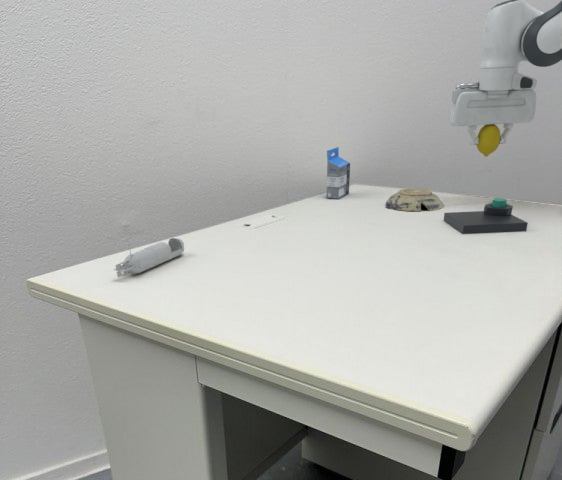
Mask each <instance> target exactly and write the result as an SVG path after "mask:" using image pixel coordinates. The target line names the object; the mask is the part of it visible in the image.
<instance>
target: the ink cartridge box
mask: <svg viewBox="0 0 562 480" xmlns="http://www.w3.org/2000/svg"><path fill="white" fill-rule="evenodd" d="M339 150H340V149H339V146H336V147H334V148H331V149H328V150H326V159H327V160H326V161H327V165H326V196H325V198H326V199H333V200H339V199H342V198H343V197H344V196H346V195H348V194H350V179H351V177H350V176H351V175H350V174H351V162H349V161H348V160H346V159H343V158H342V157H341V156H340V155H339ZM333 154H334V155H333Z"/></svg>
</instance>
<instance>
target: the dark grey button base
mask: <svg viewBox="0 0 562 480" xmlns="http://www.w3.org/2000/svg"><path fill="white" fill-rule="evenodd" d="M513 209H514V206H513V205H512V204H509V203H506V207H505V208H497V207H492V202H490V203H485V205H484V207H483V210H478V211H475V210H474V211H455V212H452V211H451V212H444V213H443V222H445V223H446V224H447V225H449V226H450V227H452V228H453V229H454V230H456V231H458V232H459V233H460V234H462V235H473V234H475V235H476V234H496V233H517V232H526V231H527V229H528V225H529V224H528V222H527V221H525V220H524V219H522V218H519V217H517V216H516V215H513Z"/></svg>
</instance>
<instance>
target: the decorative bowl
mask: <svg viewBox="0 0 562 480" xmlns="http://www.w3.org/2000/svg"><path fill="white" fill-rule="evenodd" d="M422 205H423V206H424V207H425V208H426V209H427V210H428V211H429V212H432V211H433V212H434V211H439V210H442V209H443V208H444V203H443V201H442V199H441V198H440V197H439V196H438V195H436V194H435V193H433V192H432V190H430V189H427V188H417V187H415V188H412V187H411V188H401V189H399V190H398V191H397V192H396V193H393V194H392V195H391V196H390V197H388V199H387V200H386V201H385V208H387V209H390V210H393V209H394V210H395V211H404V212H412V211H413V212H417V213H418V212H419V213H420V212H421V211H422Z"/></svg>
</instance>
